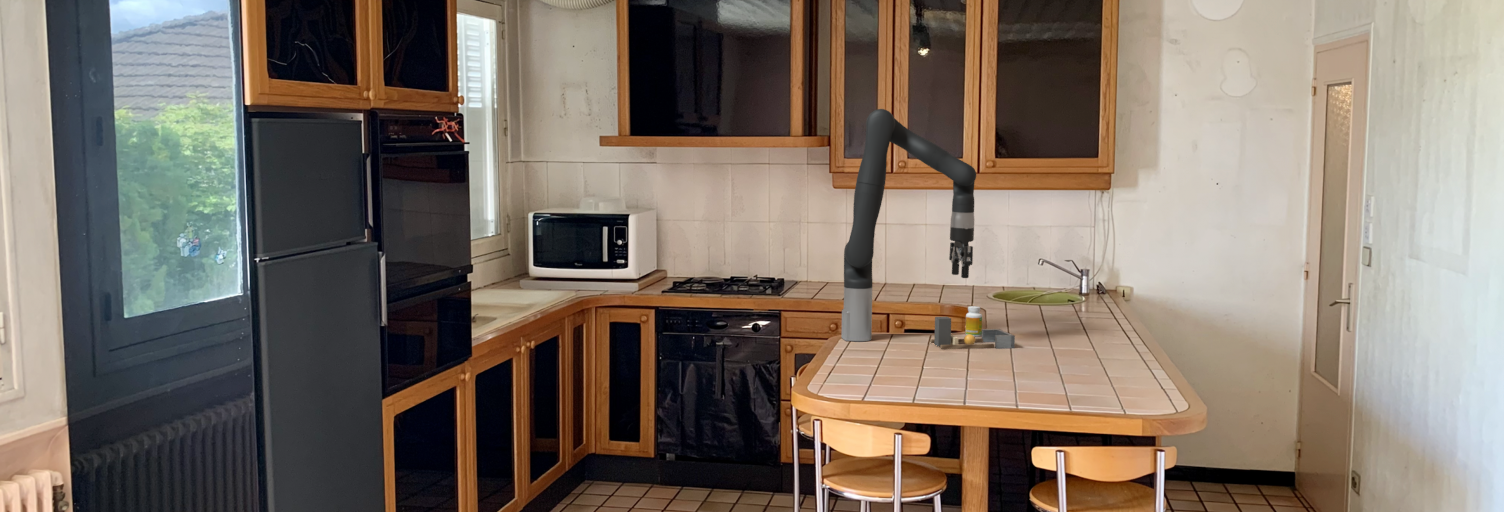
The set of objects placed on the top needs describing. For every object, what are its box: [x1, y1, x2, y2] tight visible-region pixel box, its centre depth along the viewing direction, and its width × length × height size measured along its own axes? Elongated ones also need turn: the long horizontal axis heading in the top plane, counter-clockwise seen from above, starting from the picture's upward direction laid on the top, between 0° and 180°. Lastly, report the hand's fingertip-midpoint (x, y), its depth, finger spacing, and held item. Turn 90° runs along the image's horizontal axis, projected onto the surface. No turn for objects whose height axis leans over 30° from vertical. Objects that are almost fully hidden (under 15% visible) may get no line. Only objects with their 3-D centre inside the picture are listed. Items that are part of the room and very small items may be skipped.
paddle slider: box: [933, 316, 959, 347], centre depth 368 cm, size 6×7×9 cm
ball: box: [963, 334, 976, 344], centre depth 370 cm, size 4×4×4 cm
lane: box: [929, 337, 995, 350], centre depth 369 cm, size 17×11×1 cm, turn 99°
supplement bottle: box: [964, 305, 983, 338], centre depth 388 cm, size 5×5×10 cm
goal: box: [981, 328, 1016, 350], centre depth 371 cm, size 6×13×4 cm, turn 9°
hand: (959, 276), depth 373 cm, fingers open, 8 cm apart
